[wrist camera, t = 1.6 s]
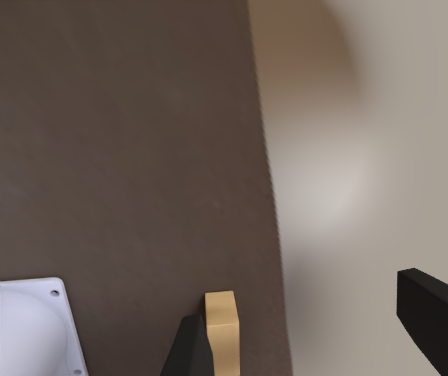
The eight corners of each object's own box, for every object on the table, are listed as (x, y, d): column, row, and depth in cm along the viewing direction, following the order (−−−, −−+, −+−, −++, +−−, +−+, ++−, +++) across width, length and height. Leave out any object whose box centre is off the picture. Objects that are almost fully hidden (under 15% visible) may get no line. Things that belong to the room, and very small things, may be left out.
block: (234, 362, 23) (240, 401, 20) (209, 364, 22) (211, 404, 20) (233, 290, 20) (239, 323, 17) (204, 292, 20) (206, 326, 17)
